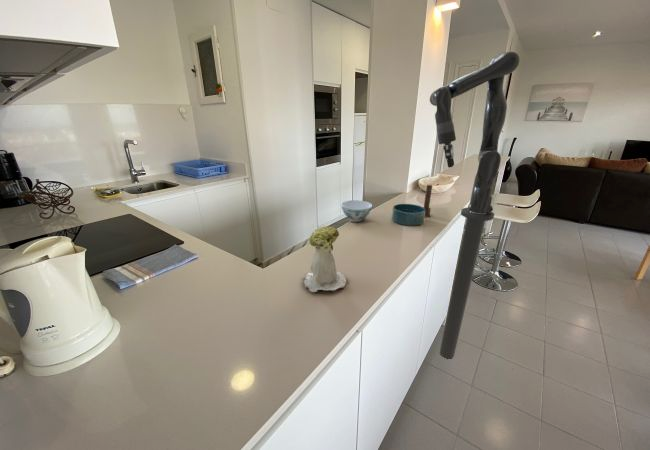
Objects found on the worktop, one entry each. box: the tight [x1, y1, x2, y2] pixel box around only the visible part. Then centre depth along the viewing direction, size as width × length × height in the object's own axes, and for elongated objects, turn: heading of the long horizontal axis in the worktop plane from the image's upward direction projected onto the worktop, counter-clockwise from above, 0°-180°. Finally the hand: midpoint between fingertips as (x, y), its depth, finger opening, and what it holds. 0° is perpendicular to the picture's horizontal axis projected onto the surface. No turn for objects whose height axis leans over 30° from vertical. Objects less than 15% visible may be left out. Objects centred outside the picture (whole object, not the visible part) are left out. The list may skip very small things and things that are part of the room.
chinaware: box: [340, 199, 373, 223], centre depth 137 cm, size 15×15×8 cm
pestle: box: [422, 184, 433, 218], centre depth 142 cm, size 4×4×16 cm
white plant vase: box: [303, 226, 347, 293], centre depth 82 cm, size 12×13×18 cm
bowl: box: [391, 203, 426, 227], centre depth 136 cm, size 15×15×6 cm
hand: (451, 166), depth 133 cm, fingers open, 8 cm apart
